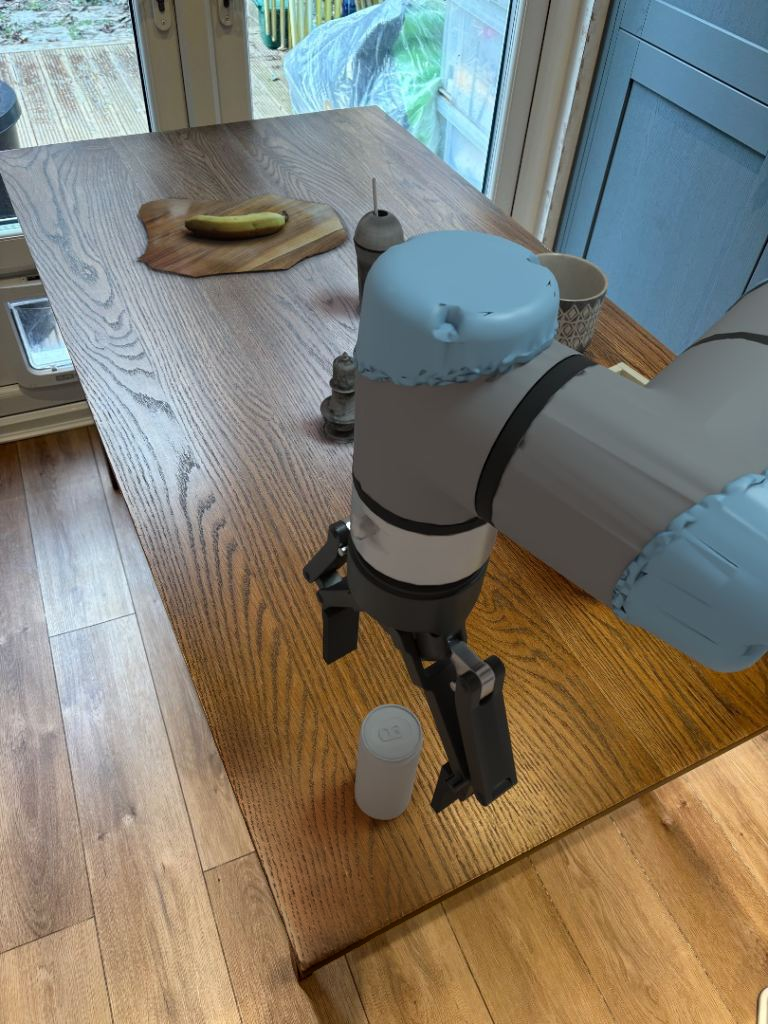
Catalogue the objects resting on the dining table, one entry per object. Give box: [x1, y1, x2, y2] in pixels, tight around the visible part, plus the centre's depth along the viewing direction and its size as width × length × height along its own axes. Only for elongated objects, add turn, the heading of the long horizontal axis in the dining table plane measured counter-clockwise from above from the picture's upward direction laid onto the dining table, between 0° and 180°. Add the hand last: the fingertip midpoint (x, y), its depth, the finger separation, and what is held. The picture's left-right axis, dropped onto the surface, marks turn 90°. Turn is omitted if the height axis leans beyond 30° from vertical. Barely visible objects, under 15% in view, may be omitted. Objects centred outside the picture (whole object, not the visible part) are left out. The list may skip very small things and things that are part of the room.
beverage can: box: [354, 703, 424, 821], centre depth 60 cm, size 5×5×12 cm
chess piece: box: [319, 351, 355, 445], centre depth 91 cm, size 6×6×12 cm
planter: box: [535, 252, 610, 354], centre depth 108 cm, size 13×13×10 cm
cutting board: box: [136, 194, 347, 278], centre depth 126 cm, size 35×27×4 cm
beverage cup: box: [352, 177, 406, 312], centre depth 107 cm, size 7×7×20 cm
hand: (390, 721), depth 55 cm, fingers open, 13 cm apart
